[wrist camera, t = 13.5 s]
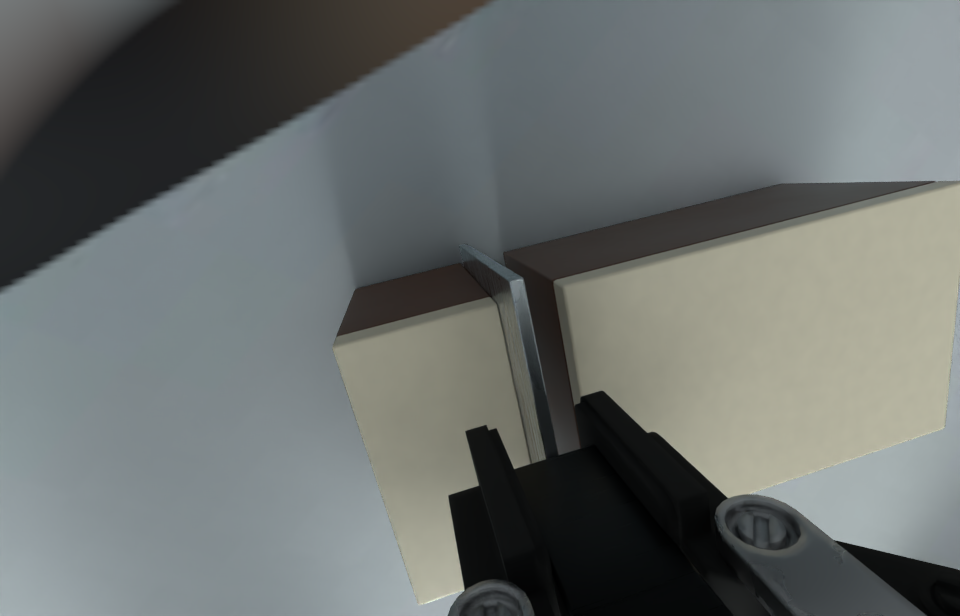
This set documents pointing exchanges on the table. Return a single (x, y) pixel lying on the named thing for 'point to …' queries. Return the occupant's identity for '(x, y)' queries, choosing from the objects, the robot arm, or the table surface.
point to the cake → (758, 324)
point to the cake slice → (427, 405)
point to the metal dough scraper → (586, 495)
